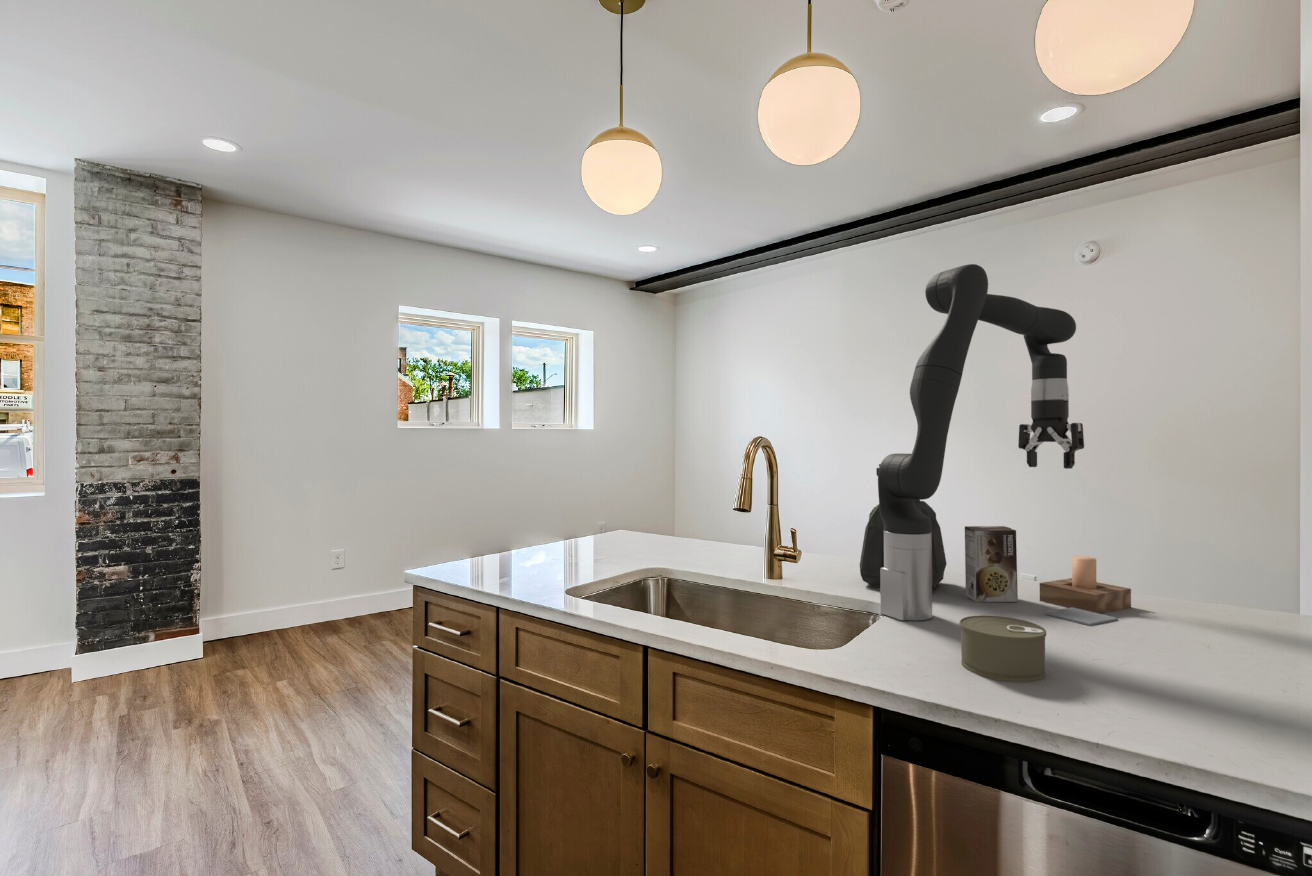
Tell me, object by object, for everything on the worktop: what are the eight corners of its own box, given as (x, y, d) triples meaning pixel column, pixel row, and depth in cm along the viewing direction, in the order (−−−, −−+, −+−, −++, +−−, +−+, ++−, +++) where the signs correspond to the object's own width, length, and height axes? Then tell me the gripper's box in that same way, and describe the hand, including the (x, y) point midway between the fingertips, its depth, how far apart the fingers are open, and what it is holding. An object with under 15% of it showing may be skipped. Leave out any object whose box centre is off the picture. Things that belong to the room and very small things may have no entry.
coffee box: (1005, 595, 147) (1004, 525, 147) (1018, 602, 140) (1018, 529, 140) (964, 595, 147) (963, 525, 148) (975, 602, 141) (974, 529, 141)
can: (963, 651, 109) (963, 611, 109) (1045, 664, 103) (1045, 621, 103) (956, 674, 98) (956, 630, 98) (1047, 689, 92) (1047, 642, 92)
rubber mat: (1089, 625, 123) (1089, 623, 123) (1044, 614, 131) (1043, 612, 131) (1117, 620, 126) (1117, 618, 126) (1072, 609, 135) (1072, 607, 135)
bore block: (1095, 614, 131) (1095, 594, 131) (1039, 600, 142) (1039, 582, 142) (1131, 607, 136) (1130, 588, 136) (1074, 595, 147) (1074, 577, 147)
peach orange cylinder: (1088, 607, 136) (1088, 560, 136) (1067, 603, 140) (1067, 557, 140) (1101, 605, 137) (1100, 559, 138) (1080, 600, 142) (1080, 555, 142)
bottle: (857, 586, 156) (856, 464, 156) (875, 574, 170) (874, 462, 170) (936, 596, 146) (934, 466, 147) (948, 582, 160) (947, 463, 160)
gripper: (1010, 400, 155) (1011, 467, 154) (1069, 396, 142) (1070, 469, 142) (1031, 401, 158) (1032, 466, 158) (1090, 397, 145) (1091, 468, 145)
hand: (1050, 467), depth 150 cm, fingers open, 8 cm apart
